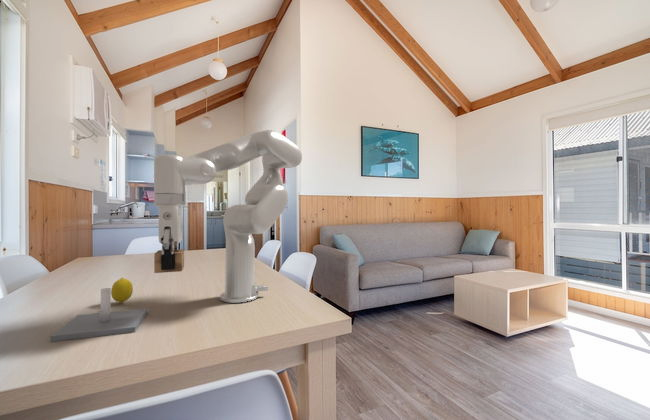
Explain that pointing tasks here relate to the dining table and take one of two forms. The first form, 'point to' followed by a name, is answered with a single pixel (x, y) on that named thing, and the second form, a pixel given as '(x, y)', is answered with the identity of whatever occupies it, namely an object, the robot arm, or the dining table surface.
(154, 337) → the dining table surface
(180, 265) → the brown wooden hollow block
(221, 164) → the robot arm
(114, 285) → the lemon
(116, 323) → the grey peg board
